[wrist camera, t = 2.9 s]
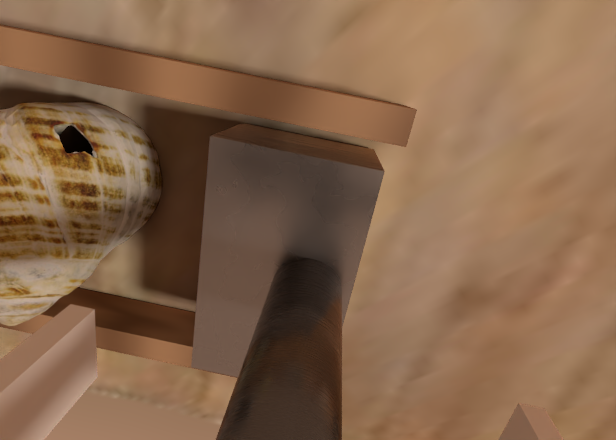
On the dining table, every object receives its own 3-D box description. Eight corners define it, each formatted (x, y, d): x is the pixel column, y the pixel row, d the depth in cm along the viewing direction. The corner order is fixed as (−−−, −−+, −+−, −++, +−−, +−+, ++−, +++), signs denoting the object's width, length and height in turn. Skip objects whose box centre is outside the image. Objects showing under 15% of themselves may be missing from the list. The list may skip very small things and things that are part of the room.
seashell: (146, 76, 18) (32, 228, 11) (189, 208, 25) (135, 348, 18) (-53, 64, 18) (-280, 208, 11) (47, 199, 25) (-57, 335, 19)
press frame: (-64, 276, 24) (-184, 333, 19) (-130, -2, 18) (-336, -39, 13) (334, 362, 24) (332, 446, 18) (405, 105, 18) (433, 115, 12)
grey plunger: (221, 310, 23) (36, 655, 9) (242, 122, 19) (-51, 238, 5) (327, 332, 23) (304, 717, 9) (373, 149, 19) (469, 348, 5)
